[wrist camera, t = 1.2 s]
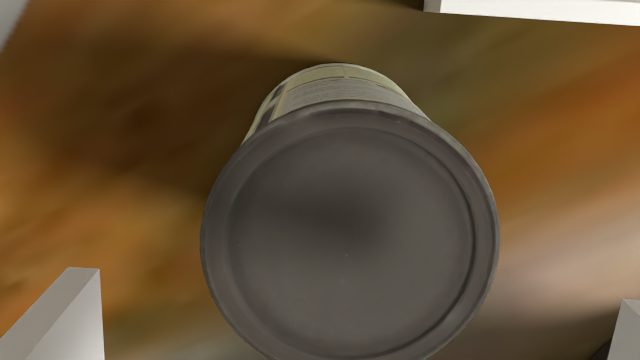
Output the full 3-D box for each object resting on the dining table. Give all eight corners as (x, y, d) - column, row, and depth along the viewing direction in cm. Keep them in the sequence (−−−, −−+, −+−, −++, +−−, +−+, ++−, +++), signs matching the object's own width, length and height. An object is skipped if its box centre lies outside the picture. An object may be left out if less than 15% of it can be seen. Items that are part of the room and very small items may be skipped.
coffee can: (433, 223, 34) (507, 364, 21) (263, 243, 35) (228, 395, 21) (420, 48, 31) (495, 81, 18) (234, 73, 32) (170, 123, 18)
